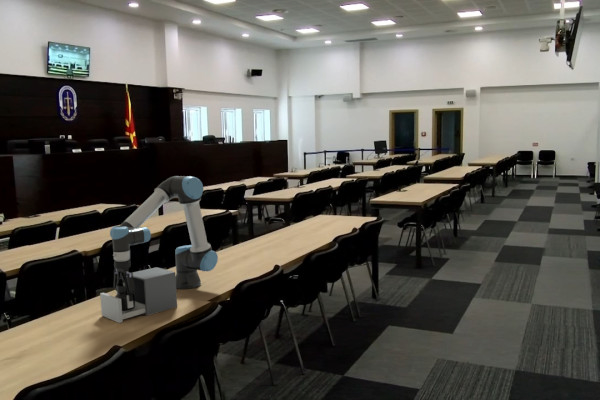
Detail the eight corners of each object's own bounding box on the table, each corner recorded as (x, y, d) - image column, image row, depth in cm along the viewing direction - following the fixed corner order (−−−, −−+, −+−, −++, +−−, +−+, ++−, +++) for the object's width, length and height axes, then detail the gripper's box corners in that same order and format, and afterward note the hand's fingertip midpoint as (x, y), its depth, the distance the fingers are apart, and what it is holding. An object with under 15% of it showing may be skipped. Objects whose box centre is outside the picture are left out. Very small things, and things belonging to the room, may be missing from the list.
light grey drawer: (134, 306, 270) (132, 285, 269) (152, 313, 258) (151, 291, 257) (101, 315, 257) (100, 293, 256) (119, 323, 246) (118, 299, 245)
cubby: (158, 300, 280) (156, 267, 278) (177, 306, 269) (175, 272, 267) (128, 308, 268) (126, 273, 266) (147, 315, 256) (144, 279, 254)
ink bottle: (136, 304, 263) (134, 280, 261) (136, 310, 254) (134, 285, 253) (115, 307, 260) (113, 283, 258) (114, 312, 252) (112, 287, 250)
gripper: (103, 258, 259) (107, 303, 261) (126, 264, 244) (129, 312, 247) (118, 255, 264) (121, 299, 267) (141, 261, 250) (144, 308, 252)
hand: (125, 305), depth 257 cm, fingers closed on ink bottle, 9 cm apart
